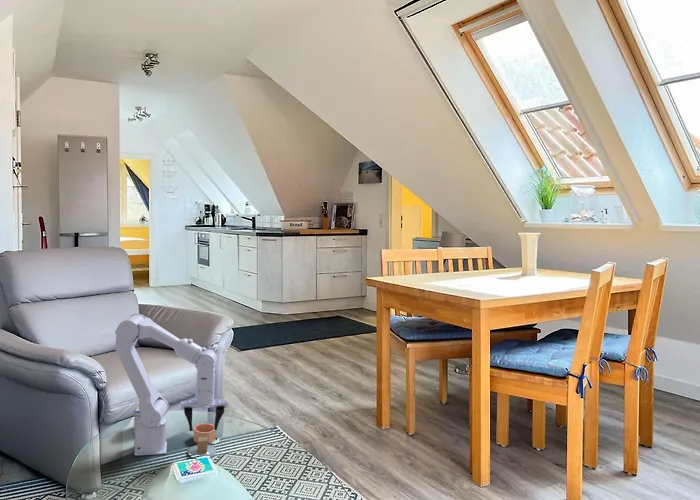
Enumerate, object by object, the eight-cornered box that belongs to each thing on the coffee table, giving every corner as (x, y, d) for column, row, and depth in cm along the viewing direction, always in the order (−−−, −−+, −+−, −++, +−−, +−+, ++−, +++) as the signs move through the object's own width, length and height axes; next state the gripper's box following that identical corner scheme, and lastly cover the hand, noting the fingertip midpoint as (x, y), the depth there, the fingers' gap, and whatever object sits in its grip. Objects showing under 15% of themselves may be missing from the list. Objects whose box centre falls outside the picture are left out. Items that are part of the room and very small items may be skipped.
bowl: (193, 444, 191) (194, 433, 190) (193, 435, 198) (193, 424, 197) (215, 443, 193) (215, 432, 192) (214, 434, 200) (214, 423, 199)
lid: (187, 460, 180) (188, 446, 180) (187, 447, 189) (188, 433, 188) (216, 459, 183) (217, 445, 182) (215, 446, 192) (216, 432, 191)
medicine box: (139, 425, 201) (140, 401, 200) (152, 425, 202) (153, 401, 201) (133, 435, 194) (134, 410, 192) (146, 435, 194) (147, 411, 193)
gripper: (181, 394, 177) (179, 435, 179) (229, 392, 181) (227, 433, 183) (181, 385, 184) (179, 425, 186) (227, 384, 188) (225, 424, 190)
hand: (203, 429), depth 185 cm, fingers open, 7 cm apart
